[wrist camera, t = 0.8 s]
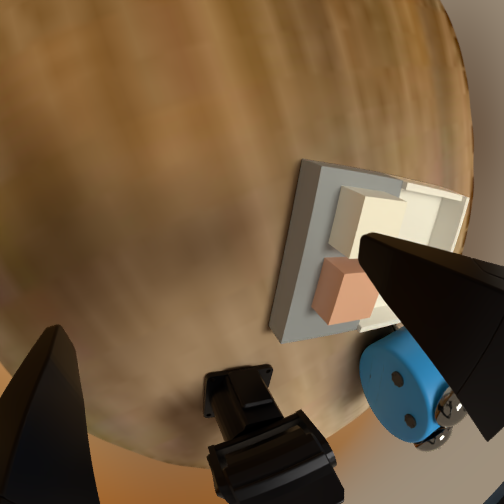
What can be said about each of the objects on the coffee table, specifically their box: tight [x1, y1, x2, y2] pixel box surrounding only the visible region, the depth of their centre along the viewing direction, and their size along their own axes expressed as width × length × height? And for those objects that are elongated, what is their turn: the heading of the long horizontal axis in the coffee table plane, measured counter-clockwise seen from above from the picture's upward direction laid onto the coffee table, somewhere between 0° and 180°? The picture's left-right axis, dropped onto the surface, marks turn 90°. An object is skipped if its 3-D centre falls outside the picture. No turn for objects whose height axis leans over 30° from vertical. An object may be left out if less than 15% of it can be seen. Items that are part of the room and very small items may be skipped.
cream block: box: [328, 186, 408, 259], centre depth 21 cm, size 4×4×2 cm
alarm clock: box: [359, 324, 468, 452], centre depth 29 cm, size 13×6×15 cm, turn 9°
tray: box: [357, 173, 469, 332], centre depth 27 cm, size 14×10×4 cm
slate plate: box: [269, 159, 403, 344], centre depth 24 cm, size 14×8×2 cm, turn 171°
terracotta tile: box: [311, 257, 379, 325], centre depth 23 cm, size 4×4×2 cm
